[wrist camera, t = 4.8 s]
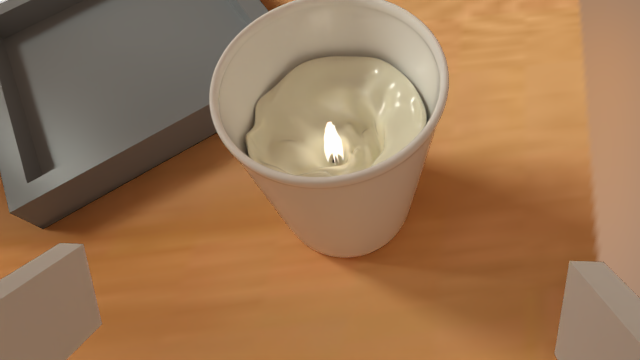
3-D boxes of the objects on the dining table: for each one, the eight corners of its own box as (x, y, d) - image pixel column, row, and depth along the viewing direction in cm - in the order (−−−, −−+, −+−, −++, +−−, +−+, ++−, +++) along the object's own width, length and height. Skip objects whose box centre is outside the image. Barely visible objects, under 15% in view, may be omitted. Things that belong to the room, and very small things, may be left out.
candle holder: (257, 258, 26) (175, 168, 16) (290, 129, 31) (242, -10, 20) (415, 282, 24) (442, 197, 14) (427, 141, 29) (455, -7, 18)
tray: (42, 229, 29) (9, 212, 27) (-7, 45, 39) (-35, 20, 37) (309, 80, 32) (303, 53, 30) (201, -55, 42) (189, -85, 40)
